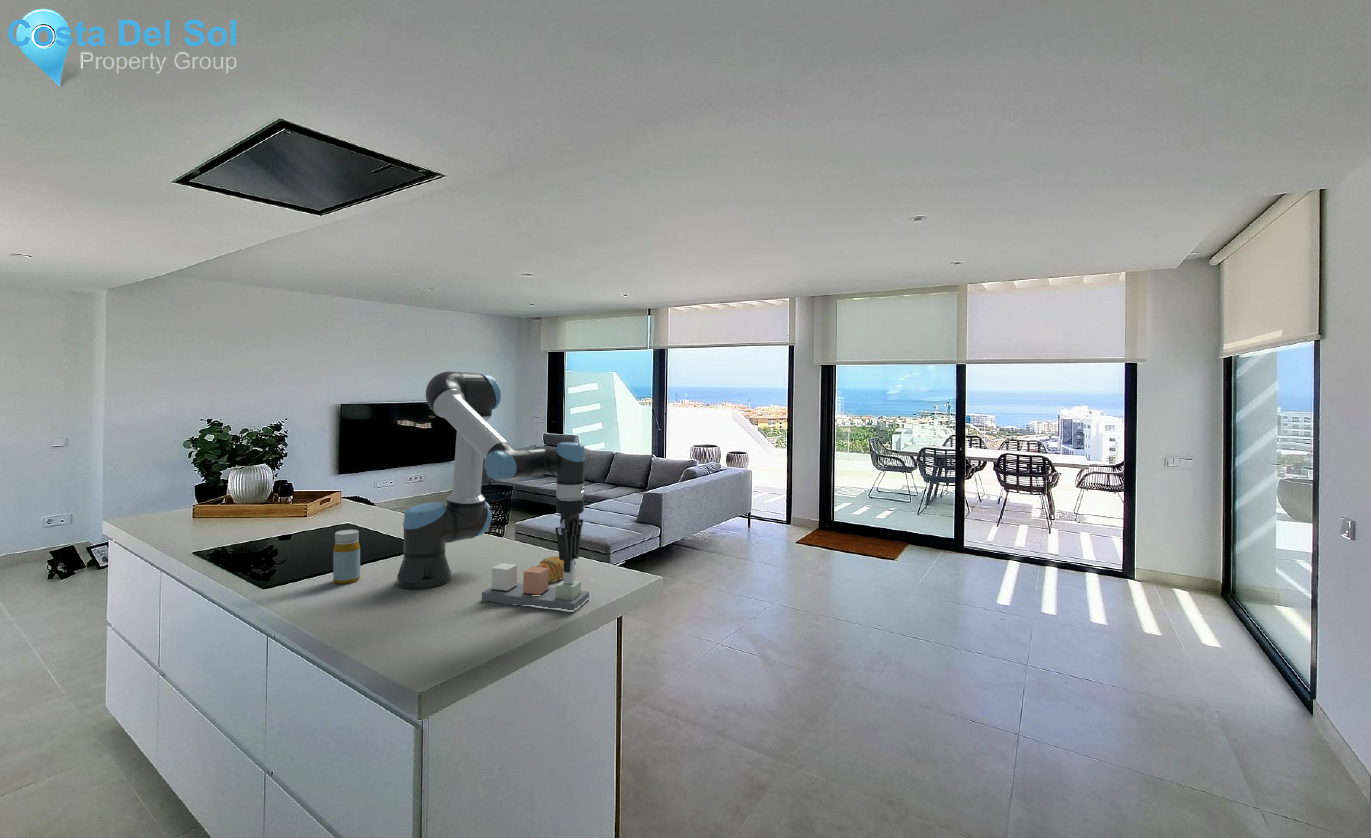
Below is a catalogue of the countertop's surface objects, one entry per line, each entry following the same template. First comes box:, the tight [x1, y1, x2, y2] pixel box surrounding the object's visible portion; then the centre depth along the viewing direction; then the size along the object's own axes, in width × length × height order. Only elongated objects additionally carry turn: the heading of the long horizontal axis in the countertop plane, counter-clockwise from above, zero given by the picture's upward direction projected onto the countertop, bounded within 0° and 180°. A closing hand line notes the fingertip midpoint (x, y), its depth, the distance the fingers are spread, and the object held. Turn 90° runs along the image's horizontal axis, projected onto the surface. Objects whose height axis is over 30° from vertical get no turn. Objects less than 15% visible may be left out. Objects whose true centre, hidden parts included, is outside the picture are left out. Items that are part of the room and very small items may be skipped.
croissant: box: [535, 556, 576, 583], centre depth 182 cm, size 21×10×8 cm, turn 149°
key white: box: [491, 562, 518, 591], centre depth 164 cm, size 5×5×6 cm
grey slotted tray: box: [481, 582, 590, 610], centre depth 162 cm, size 28×10×2 cm, turn 76°
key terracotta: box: [522, 566, 549, 595], centre depth 162 cm, size 5×5×6 cm
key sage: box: [555, 580, 582, 601], centre depth 159 cm, size 5×5×6 cm
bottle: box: [332, 529, 361, 585], centre depth 174 cm, size 7×7×15 cm
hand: (568, 582), depth 159 cm, fingers closed
